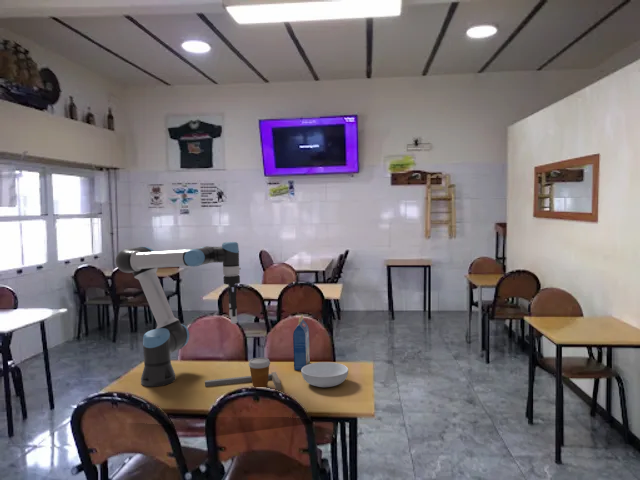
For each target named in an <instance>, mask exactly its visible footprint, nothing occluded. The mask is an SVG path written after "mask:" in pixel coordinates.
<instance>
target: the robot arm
mask: <svg viewBox="0 0 640 480" xmlns="http://www.w3.org/2000/svg"><path fill="white" fill-rule="evenodd" d="M214 263H222V275H223V284H224V285H228V287H227V295H228V308H229V310H228V311H229V318H230V324H238V305H237V290H238V289H237V286H236V285H238V284H240V282H241V280H240V279H241V276H240V270H241V267H240V249H239V243H238V242H237V241H225V242H222V244H221V246H201V247H199V248H190V249H177V250H176V249H174V250H160V251H155V250H154V249H153V248H150V247H148V246H139V247H132V248H125V249H122V250H120V251H119V252H118V254H117V255H116V257H115V265H116V267H117V269H118V270H120V272H122V273H126V274H131V273H132V275H133V277H134V279H136V280H138V281H139V283H140V286H141V289H142V291H143V293H144V295H145V297H146V300H147V303H148V306H149V307H150V310H151V312H152V314H153V317H154V319H155V321H156V325H157V326H156V328H155V329H151V330H148V331H147V332H145V333H144V334H143V339H142V346H143V362H144V367H143V371H142V374H141V377H140V384H141V385H142V386H143V387H153V388H154V387H162V386H166V385H169V384H171V383H173V382H175V381H176V372H175V370H174V367H173V365H172V362H171V361H172V360H171V359H172V358H171V354H172V353H174V352H177V351H179V350H181V349H182V348H184V347H186V346H187V344H188V343H189V340H190V332H189V329H188V327H187V326H186V325H184V324H183V323H181V321H180V319H179V318H176V317H175V316H174V313H173V311H172V308H171V306H170V303H169V301H168V298H167V295H166V293H165V291H164V288H163V287H162V284H161V282H160V279H159V277H158V275H157V272H158V269H161V268H163V269H164V268H176V267H179V268H180V267H193V268H194V267H199V266H202V265H207V264H214Z"/></svg>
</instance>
